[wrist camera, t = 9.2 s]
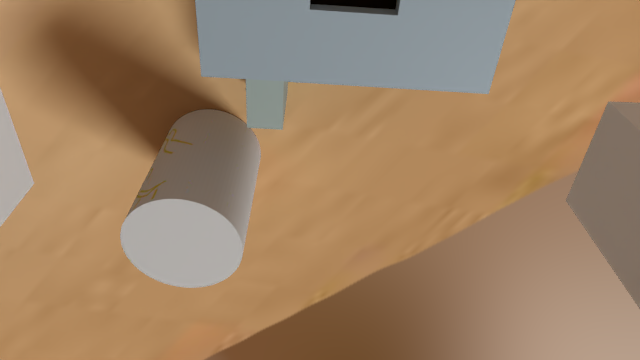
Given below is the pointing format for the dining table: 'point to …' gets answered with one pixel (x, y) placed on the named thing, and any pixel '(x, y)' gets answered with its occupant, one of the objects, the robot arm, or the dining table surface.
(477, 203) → the dining table surface
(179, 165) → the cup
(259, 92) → the token slate
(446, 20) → the coin box
